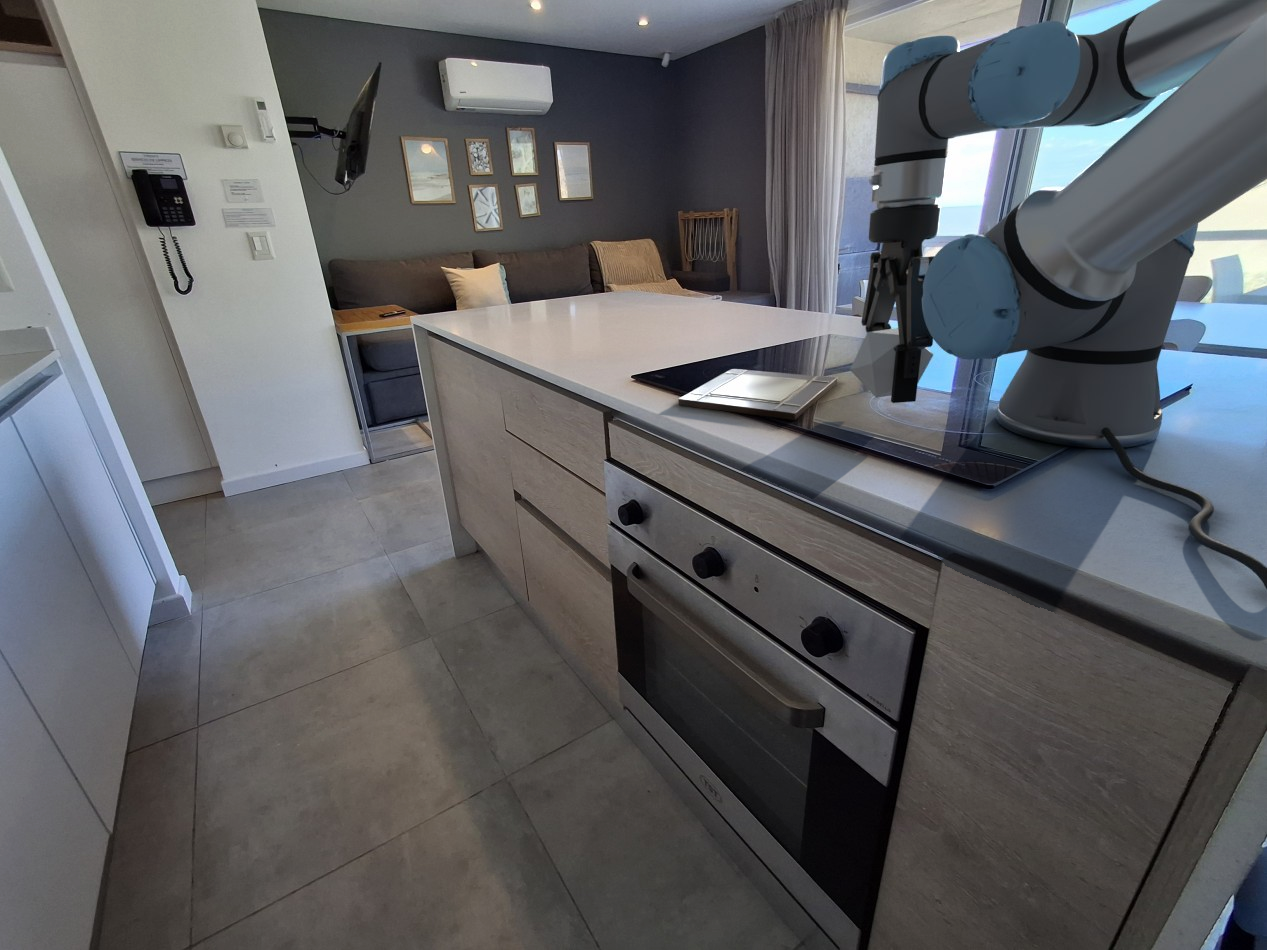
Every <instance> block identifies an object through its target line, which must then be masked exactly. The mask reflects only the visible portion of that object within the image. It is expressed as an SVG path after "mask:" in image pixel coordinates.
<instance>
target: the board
mask: <svg viewBox="0 0 1267 950" xmlns="http://www.w3.org/2000/svg"><path fill="white" fill-rule="evenodd" d="M837 384H838V377H836V376H835V377H834V376H824V375H823V376H822V375H810V374H809V375H808V374H798V373H788V372H787V373H785V372H777V371H776V372H774V371H764V370H763V371H762V370H754V369H753V370H751V369H741V368H730V369H729V370H727V371H725V372H724V373H721V374H719V375H718V376H716V377H714V378H713V379H711V380H709V381H707V382H706V383H704V384H702V385H700V386H699V387H697V388H695V389H693V390H692V391H690V392H688V393H686V394H684V395H683V396H681V397H679V398H677V400H678V406H685V407H691V408H699V409H706V410H707V409H708V410H715V411H722V412H729V413H737V414H745V415H753V416H759V417H768V418H775V419H783V420H789V421H790V420H791V421H796V420H797V419H798V418H799V417H800V416H801V415H803V414H804V413H805V412H806V411H807V410H808V409H810V408H811V407H812V406H813V405H814V404H815V403H817V402H818V401H819V400H820V399H821V398H822V397H823V396H825V395H826V394H827V393H829V391H830V390H831V389H833V388H834V387H835V386H836V385H837Z"/></svg>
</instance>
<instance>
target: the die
mask: <svg viewBox="0 0 1267 950" xmlns="http://www.w3.org/2000/svg"><path fill="white" fill-rule="evenodd" d="M897 345H900V341H899V331H898V327H896V328H891V329H887V330H880V331H872V332H868V333H867V332H866V335H865V337H864V339H863V341H862V343H861V345H860V347H859V349H858V351H857V354H856V356H855V358H854V360H853V362H852V364H851V366H850V368H849V371H850V372H851V373H852V374H853V375H854V376H855V378H857V379H858V381H860V382H861V384H862V385H863V386H864V387H865V388H866V389H867V390H868V391H869V392H870V393H871V394H872V396H874V397H875V398H876V399H877V398H878V399H879V398H883V397H891V395H892V385H893V374H894V364H895V354H896V351H894V348H895V346H897ZM934 356H935V355H934V353H932V351H930V350H929V348H928V347H925V348H924V349H922V350H921V359H920V367H919V376H918V383H919V382H920V380H921V379H922V377H923V375H924V373H925V371H926V370H927V368H928V367H929V365H930V362H931V360H932V358H933V357H934Z"/></svg>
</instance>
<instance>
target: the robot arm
mask: <svg viewBox="0 0 1267 950" xmlns="http://www.w3.org/2000/svg"><path fill="white" fill-rule="evenodd" d="M960 48H961V45H960V41H959V39H958V38H957V37H955V36H952V35H934V36H927V37H921V38H917V39H915V40H913V41H907V42H903V43H901V44H899V45H897V46H895V47H893V48H892V49H890V50H889V51H888V52H887V53H886V55H885V56H884V59H883V62H882V66H881V67H882V68H881V75H880V76H881V77H880V81H879V82H880V84H879V90H878V93H877V117H876V132H875V146H874V147H875V148H874V166H873V175H871V176H870V177H869V179H868V182H869V185H871V186H872V192H871V193H872V195H871V203H873V204H874V205H876V209H872V212H870V215H869V229H868V240H869V242H870V243H874V244H882V245H881V250H880V251H875V252H871V254H870V256H869V257H870V258H869V260H870V263H869V274H868V280H867V287H866V292H865V298H864V304H863V309H862V317H861V321H860V323H861V325H862V327H865V331H866V334H867V333H868V332H872V331H880V330H887V329H892V325H891V324H890V323H889V322H890V320H891V317H892V314H893V310H894V307H895V310H896V311H895V312H896V319H897V320H896V321H897V328H898V331H899V341H900V345H897V346H895V348H894V351H896V354H895V364H894V374H893V385H892V395H891V396H890V402H891V403H892V404H897V403H898V404H900V403H913V402H916V400H917V393H918V385H919V382H918V376H919V367H920V359H921V350H922V349H924V348H925V347H926V348H931V347H933V345H934V342H935V344H937V346H939V348H941V349H942V350H943V351H944V352H945V353H946V354H949V355H952V356H954V357H956V358H958V359H961V360H969V361H970V360H971V361H972V360H981V359H984V360H994V359H997V358H1000V357H1002V356H1003V355H1008V354H1014V353H1019V352H1025V351H1026V354H1025V356H1024V359H1023V361H1022V362H1021V364H1020V366H1019V367H1018V368H1017V371H1016V372H1015V374H1014V375H1013V377H1012V379H1011V381H1010V382H1009V384H1008V386H1007V387H1006V389H1005V391H1004V392H1003V394H1002V395H1001V397H1000V399H999V402H998V405H997V409H996V414H995V420H996V421H997V423H998V424H999V425H1000V426H1002V427H1003V428H1005V429H1006V430H1008V431H1011V432H1013V433H1014V434H1018V435H1019V436H1023V437H1026V438H1030V439H1033V440H1037V441H1041V442H1046V443H1050V444H1056V445H1062V446H1069V447H1078V448H1089V449H1091V448H1092V449H1113V451H1114V453H1115V454H1116V455H1117V458H1118V459H1119V462H1120V464H1121V466H1122V468H1123V469H1124V470H1125V471H1126V472H1127V473H1128V474H1129V475H1131V477H1133V478H1135V479H1136V480H1138V481H1140V482H1142V483H1144V484H1147V485H1148V486H1152V487H1154V488H1157V489H1160V490H1164V491H1167V492H1170V493H1173V494H1176V495H1179V496H1182V497H1185V498H1186V499H1189V500H1191V501H1193V502H1195V503H1196V504H1198V506H1200V507H1201V509H1200V511H1199V512H1198V513H1197V514H1195V515H1194V516H1193V517H1192V518H1191V519H1190V520H1189V524H1188V527H1187V528H1188V531H1189V534H1190V535H1191V537H1192V538H1193V539H1194V540H1195V541H1196V542H1198V543H1199V544H1200V545H1203V547H1205V548H1207V549H1209V550H1212V551H1214V552H1217V553H1219V554H1221V555H1223V556H1226V557H1229V558H1231V559H1233V560H1234V561H1237V562H1239V563H1240V564H1242V565H1244V566H1245V567H1247V568H1248V569H1250V570H1251V571H1252V572H1253V573H1254V574H1255V575H1256V576H1257V577H1258V578H1259V580H1260V581H1261V582H1262V584H1263V586H1264V587H1265V589H1266V590H1267V565H1265V564H1264V563H1262V561H1260V560H1259V559H1257V558H1255V557H1254V556H1252V555H1250V554H1248V553H1247V552H1245V551H1242V550H1240V549H1238V548H1235V547H1232V546H1230V545H1228V544H1225V543H1223V542H1221V541H1219V540H1216V539H1214V538H1212V537H1210V536H1209V535H1207V534H1206V533H1205V532H1204V530H1203V529H1202V526H1203V524H1205V522H1207V521H1208V520H1209V519H1210V518H1211V517H1212V516H1213V513H1214V511H1215V507H1214V504H1213V503H1212V502H1211V501H1210V499H1208V498H1207V497H1206V496H1205V495H1203V494H1201V493H1199V492H1197V491H1194V490H1193V489H1190V488H1186V487H1183V486H1181V485H1178V484H1173V483H1170V482H1168V481H1164V480H1161V479H1158V478H1156V477H1153V476H1150V475H1148V474H1146V473H1144V472H1143V471H1141V470H1139V469H1138V468H1137V467H1136V466H1135V465H1134V464H1133V462H1132V461H1131V459H1130V458H1129V455H1128V453H1127V451H1126V449H1125V448H1129V447H1136V446H1142V445H1145V444H1149V443H1150V442H1153V441H1154V440H1156V439H1157V437H1159V436H1158V435H1159V433H1160V429H1161V428H1162V427H1161V426H1162V423H1163V421H1162V420H1163V410H1162V407H1161V392H1160V391H1161V389H1160V382H1159V381H1160V380H1159V373H1158V362H1159V358H1160V355H1161V351H1162V348H1163V346H1164V343H1165V339H1166V337H1167V333H1168V330H1169V327H1170V323H1171V321H1172V317H1173V314H1174V310H1175V308H1176V305H1177V301H1178V299H1179V295H1180V292H1181V289H1182V286H1183V283H1184V279H1185V277H1186V273H1187V270H1188V266H1189V263H1190V260H1191V258H1192V257H1193V256H1194V253H1195V240H1196V236H1197V232H1198V227H1199V223H1201V222H1202V221H1204V220H1206V219H1207V218H1209V217H1210V216H1212V215H1213V214H1215V213H1216V212H1218V211H1219V210H1221V209H1223V208H1224V207H1226V206H1227V205H1229V204H1231V203H1232V202H1234V201H1235V200H1237V199H1239V198H1240V197H1241V196H1243V195H1244V194H1247V193H1248V192H1249V191H1251V190H1252V189H1254V188H1256V187H1257V186H1259V185H1260V184H1261V183H1263V182H1265V181H1266V180H1267V0H1158V1H1156V2H1155V3H1153V4H1151V5H1150V6H1147V7H1146V8H1145V9H1143V10H1141V11H1138V12H1137V13H1135V14H1133V15H1132V16H1130V17H1128V18H1125V20H1124V19H1123V20H1122V21H1120V22H1118V23H1117V24H1115V25H1113V26H1111V27H1109V28H1107V29H1105V30H1103V31H1101V32H1098V33H1094V34H1076V33H1075V32H1073V31H1071V30H1070V29H1069V28H1068V27H1067V24H1066V23H1064V22H1063V21H1060V20H1047V21H1041V22H1038V23H1035V24H1032V25H1028V26H1026V25H1024V26H1023V25H1021V26H1019V27H1015V28H1012V29H1010V30H1008V32H1003V33H1002V34H1000V35H998V36H996V37H993V38H990V39H987V40H985V41H983V42H980V43H976V44H975V45H972V46H969V47H967V48H964V49H961V50H960ZM1171 91H1173V92H1172V93H1171V94H1170V95H1169V96H1167V98H1165V99H1164V100H1163V101H1162V102H1160V104H1158V105H1157V106H1156V107H1155V108H1154V109H1153V110H1152V111H1150V112H1149V113H1147V115H1145V116H1144V117H1143V118H1142V119H1141V120H1140V121H1139V122H1138V123H1136V125H1134V126H1133V127H1132V128H1131V129H1130V130H1128V131H1127V132H1126V133H1125V134H1124V135H1123V136H1122V137H1120V138H1119V139H1118V140H1116V142H1114V143H1113V144H1112V145H1111V146H1110V147H1109V148H1108V149H1106V150H1105V151H1104V152H1103V153H1101V155H1099V156H1098V157H1097V158H1095V160H1094V161H1092V162H1091V163H1090V164H1089V165H1088V166H1087V167H1086V168H1084V170H1082V171H1081V172H1080V173H1078V175H1076V176H1075V177H1074V178H1073V179H1072V180H1070V181H1069V182H1068V183H1067V184H1066V185H1064V186H1050V187H1043V188H1039V189H1037V190H1035V191H1033V192H1031V193H1030V194H1029V195H1028V196H1026V197H1025V198H1024V199H1022V200H1021V202H1019V203H1018V204H1017V205H1016V206H1015V207H1014V208H1013V209H1012V210H1011V211H1009V212H1008V213H1007V214H1006V215H1005V216H1004V217H1003V218H1001V220H999V222H997V223H996V224H994V226H993V227H991V228H990V229H989V230H988V231H986V232H984V233H982V234H980V233H969V234H968V233H967V234H966V235H964V236H960V237H959V238H956V239H954V240H951V241H950V242H948V243H946V244H945V245H943V246H942V247H941V248H940V249H939V250H938V252H936V253H935V255H932V256H931V255H930V256H924V249H923V247H924V245H923V243H924V241H926V240H932V239H935V238H936V237H937V236H938V234H939V229H940V218H941V211H942V206H940V204H939V203H937V199H940V198H941V197H943V196H944V190H945V181H946V171H947V166H948V165H947V164H948V152H949V151H948V150H949V144H950V139H954V138H959V137H964V136H970V135H975V134H980V133H981V134H982V133H988V132H997V131H1012V130H1013V131H1014V130H1027V129H1041V128H1061V127H1082V126H1083V127H1091V128H1092V127H1100V126H1104V125H1108V124H1111V123H1117V122H1121V121H1125V120H1128V119H1130V118H1133V117H1135V116H1136V115H1138V114H1139V113H1141V112H1142V111H1143V110H1144V109H1145V108H1147V107H1148V106H1149V105H1150V104H1152V102H1153V101H1155V99H1156V98H1157V97H1159V96H1162V95H1164V94H1166V93H1169V92H1171Z"/></svg>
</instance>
